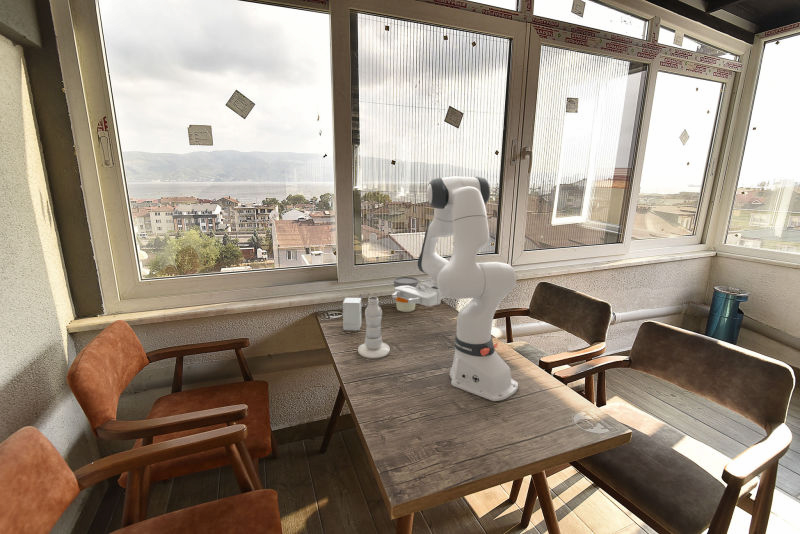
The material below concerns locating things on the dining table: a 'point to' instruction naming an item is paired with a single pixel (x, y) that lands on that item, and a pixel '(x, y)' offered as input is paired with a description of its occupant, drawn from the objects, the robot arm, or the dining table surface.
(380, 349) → the coaster
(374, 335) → the plastic bottle
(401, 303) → the reusable coffee cup
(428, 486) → the dining table surface
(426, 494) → the dining table surface
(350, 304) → the supplement box
